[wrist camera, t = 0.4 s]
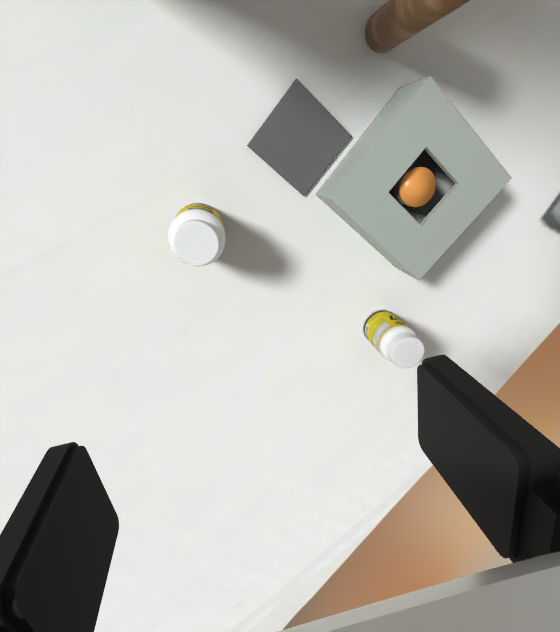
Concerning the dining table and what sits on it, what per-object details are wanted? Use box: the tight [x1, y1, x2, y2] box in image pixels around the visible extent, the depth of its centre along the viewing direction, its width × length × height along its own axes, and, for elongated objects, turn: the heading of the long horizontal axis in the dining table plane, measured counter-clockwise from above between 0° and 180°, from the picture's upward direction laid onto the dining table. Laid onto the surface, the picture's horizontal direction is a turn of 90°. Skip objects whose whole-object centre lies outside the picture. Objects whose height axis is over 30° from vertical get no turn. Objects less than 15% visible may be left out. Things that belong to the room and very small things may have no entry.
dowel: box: [365, 0, 470, 53], centre depth 32 cm, size 4×4×13 cm
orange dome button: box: [388, 167, 436, 207], centre depth 41 cm, size 4×4×3 cm
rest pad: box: [247, 79, 351, 196], centre depth 41 cm, size 8×8×1 cm
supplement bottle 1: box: [168, 203, 226, 266], centre depth 38 cm, size 5×5×10 cm
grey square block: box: [316, 76, 511, 280], centre depth 42 cm, size 14×14×6 cm
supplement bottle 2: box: [363, 310, 424, 368], centre depth 47 cm, size 5×5×8 cm
